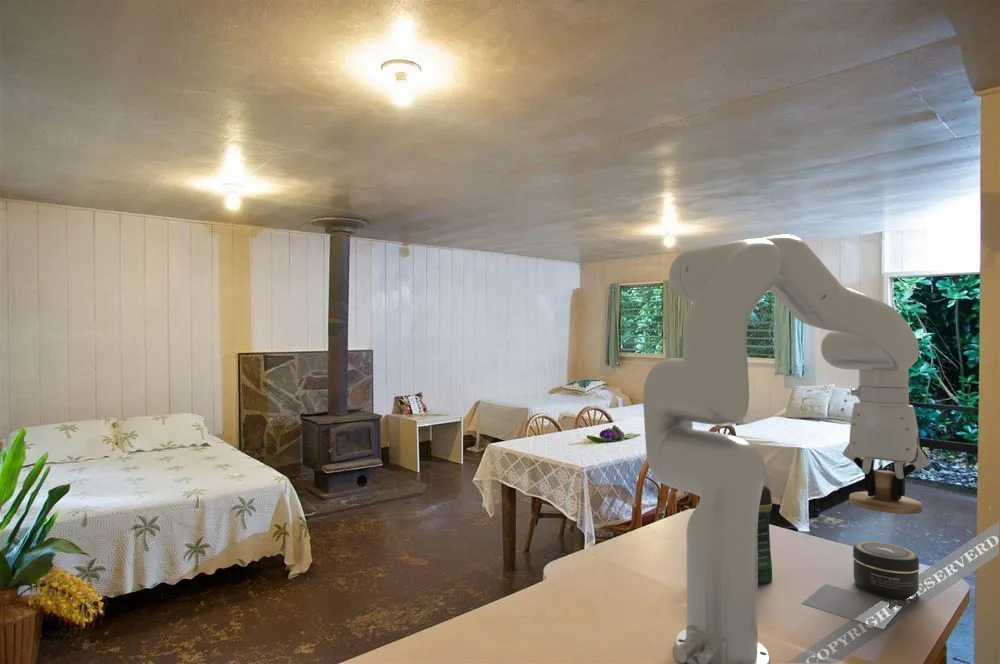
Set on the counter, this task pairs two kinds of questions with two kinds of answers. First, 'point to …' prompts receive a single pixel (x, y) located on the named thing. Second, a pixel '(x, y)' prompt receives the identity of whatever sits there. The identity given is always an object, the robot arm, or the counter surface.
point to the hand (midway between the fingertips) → (884, 496)
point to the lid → (885, 497)
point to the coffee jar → (764, 539)
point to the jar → (886, 570)
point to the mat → (842, 601)
